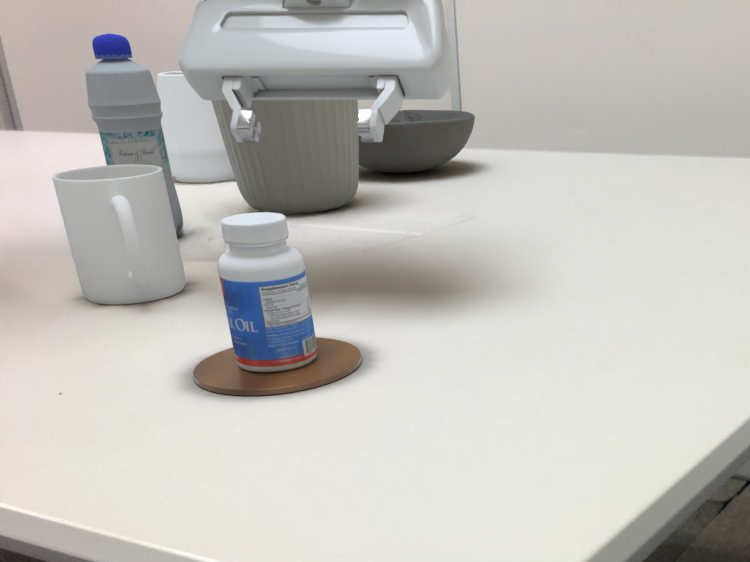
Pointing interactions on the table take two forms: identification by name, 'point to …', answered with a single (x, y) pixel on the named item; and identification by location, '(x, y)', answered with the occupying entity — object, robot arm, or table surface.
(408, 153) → the bowl
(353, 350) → the coaster
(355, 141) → the canister
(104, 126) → the bottle
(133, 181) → the cup
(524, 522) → the table surface
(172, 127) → the cup
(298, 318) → the pill bottle
